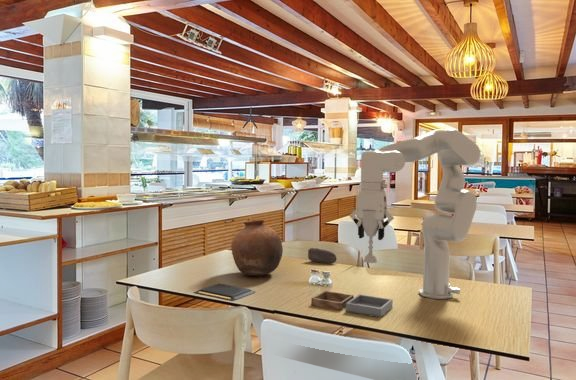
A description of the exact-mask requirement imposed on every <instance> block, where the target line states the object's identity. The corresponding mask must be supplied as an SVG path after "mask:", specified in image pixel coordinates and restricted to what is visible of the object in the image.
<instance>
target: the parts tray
mask: <svg viewBox="0 0 576 380" xmlns="http://www.w3.org/2000/svg"><path fill="white" fill-rule="evenodd" d="M393 302H394V301H393V299H391V298H386V297H385V298H384V297H379V296H372V295H366V294H357V295H356V296H354V298H353V299H351V300H350V301H348V302H347V303H346V307H345V312H346V311H347V312H346V313H350V312H353V313H352V314H356V313H359V314H358V315H361V314H365V315H364V316H367V315H372V316H371V317H373V316H377V317H376V318H378V317H382V316H383V315H384V314H385V313H386V314H387V313H389V312H390V311H391V310H392V309H393ZM391 308H392V309H391ZM390 309H391V310H390ZM386 314H385V315H386ZM385 315H384V316H385ZM384 316H383V317H384ZM383 317H382V318H383Z"/></svg>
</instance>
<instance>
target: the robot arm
mask: <svg viewBox="0 0 576 380" xmlns="http://www.w3.org/2000/svg"><path fill="white" fill-rule="evenodd" d="M434 154H437V156H436V157H437V159H438V161H439V164H440V167H441V171H442V177H441V181H440V184H439V188H438V190H437V194H436V196H435V199H434V208H435V210H437V211H438V212H441V214H440V213H432V214H427V215H426V216H425V217H424V218H423V220H422V223H421V225H422V227H421V228H422V230H421V231H422V235H423V243H424V245H423V247H424V248H423V249H424V251H423V274H422V275H423V276H422V277H423V280H422V281H423V282H422V288H420V289H418V294H419V295H420V296H422V297H424V298H429V299H436V300H446V299H451V298H452V297H453V294H457V295H460V294H461V289H460V288H458V287H453V286H452V285H451V284H452V283H450V262H451V261H450V260H451V259H450V258H451V257H450V255H451V250H450V246H449V243H448V242H453V243H460V242H463V241H464V240H465V239H466V238H467V236H468V234H469V231H470V229H471V225H472V222H473V219H474V216H475V213H476V210H477V197H476V195H475V193H473V192H472V191H470V190H468V189H464V187H465V186H464V185H465V182H466V177H465V173H464V171H463V169H462V168H461V166H474V165H475V164H477V163H478V162H479V161H480V158H481V150H480V147H479V146H478V144H476V142H475V141H473V140H472V139H470V138H469V137H468V136H467V135H466V134H464V133H463V132H461V131H460V130H458V129H454V128H442V129H432V130H430V131H427V132H425V133H422V134H419V135H418V136H415V137H412V138H409V139H405V140H402V141H399V142H398V141H397V142H394V143H390V144H387V145H384V146H381V147H380V148H377V149H374V150H365V151H362V153H361V156H360V157H361V159H360V190H359V191H358V194H357V199H356V207H355V209H354V210H353V211H352V212H351V213H350V214H349V217H350V219H351V220H352V221H353V222H354V223H355V225H356V227H357V235H358V238H359V239H362V238H364V237H365V230H364V228H363V225H362V219H363V214H364V213H363V212H362V210H364V211H376V213H375V219H376V220H378V224H379V229H378V231H377V239H378V241H381V240H384V237H385V228H386V227H387V226H388V225H389V224H390V223H391V222H392V221H393V220H394V219H395V217H394V216H393V215H392V214H391V213H390V212H389V211H388V202H387V193H386V191H385V190H384V189H387V188H388V184H387V183H385V182H384V173H385V172H386V173H396V172H400V171H401V170H402V169H403V168H405V165H406V163H413V162H418V161H421V160H423V159H426V158H428V157H430V156H433V155H434ZM443 213H446V214H443ZM448 214H453V215H448ZM385 219H386V220H385Z"/></svg>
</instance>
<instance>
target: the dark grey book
mask: <svg viewBox="0 0 576 380" xmlns="http://www.w3.org/2000/svg"><path fill="white" fill-rule="evenodd" d="M255 293H256V291H254V290H252V289H249V288H245V287H240V286H235V285H230V284H223V283H216V284H213V285H210V286H207V287H204V288H201V289H198V290H197V291H194V292H193V294H196V295H201V296H206V297H211V298H214V299H215V298H216V299H219V300H220V299H221V300H225V301H230V302H234V301H238V300H240V299H242V298H245V297H249V296H251V295H253V294H255Z"/></svg>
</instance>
